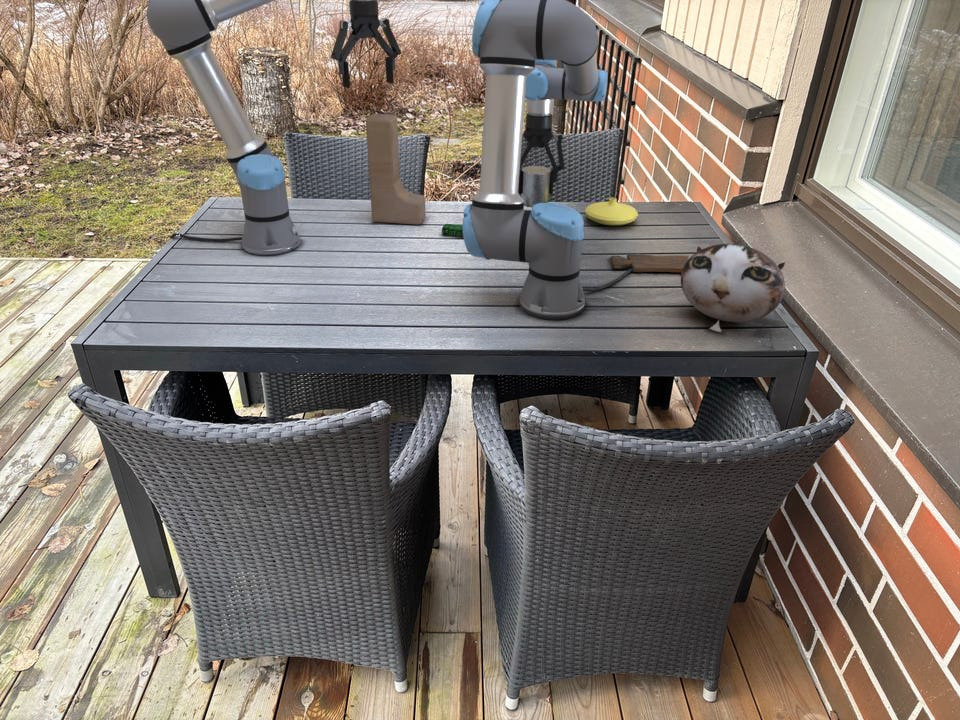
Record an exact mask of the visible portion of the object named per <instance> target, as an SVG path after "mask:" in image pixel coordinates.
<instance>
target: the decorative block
mask: <svg viewBox="0 0 960 720" xmlns="http://www.w3.org/2000/svg"><path fill="white" fill-rule="evenodd" d="M397 116H398V115H396V114H390V113H389V114H387V113H372V114H371V115H369V116H368V117H367V118H366V119H365V131H366V134H365V135H366V147H367V161H368V163H367V164H368V177H369V193H370V209H371V221H372V222H374V223H387V224H404V225H417V226H418V225H422V223H423V221H424V220H425V218H426V197H425V195H423V194H418V193H414V192H410V191H409V190H407V189H406V188H405V186H404V184H403V182H402V180H401V175H400V151H399V127H398V126H399V125H398V117H397Z"/></svg>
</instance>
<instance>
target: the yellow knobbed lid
mask: <svg viewBox="0 0 960 720" xmlns="http://www.w3.org/2000/svg"><path fill="white" fill-rule="evenodd" d="M584 211H585V216H586V217H587V218H588V219H590V220H592V221H593V222H595V223H597V224H600V225H603V226H610V227H611V226H612V227H615V226H624V225H627V224H631V223H633V222H634V221H636V220H637V218H638V217H639V213H638V211H637V210H636V208H635V207H634V206H632V205H629V204H626V203H623V202H617V198H616V197H609V198H608V201H599V202H598V201H597V202H594V203H591V204H589V205H588V206H587V207H586V208H585V210H584Z"/></svg>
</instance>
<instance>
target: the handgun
mask: <svg viewBox="0 0 960 720" xmlns="http://www.w3.org/2000/svg"><path fill="white" fill-rule="evenodd" d="M441 235H446V236H454V237H462V238H464V237H463V225H459V224H453V223H445V224H443V226H442V227H441Z"/></svg>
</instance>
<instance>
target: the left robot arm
mask: <svg viewBox="0 0 960 720" xmlns="http://www.w3.org/2000/svg"><path fill="white" fill-rule="evenodd" d="M274 1H275V0H148V3H147V8H146V21H147V23H148V26H149V28H150V30H151V32H152V33H153V34H154V36H156V38H158V39H159V40H160V43H161V44H162V46H163V48H164V49H165V51H166V53H167V54H168V56H169V57H170V58H171V59H174V60H177V61H178V62H179V64H180V65H181V67H182V70H183V71H184V73H185V74H186V76H187V78H188V80H189V82H190V84H191V85H192V87H193V89H194V91H195V93H196V94H197V97H198V98H199V100H200V102H201V104H202V105H203V107H204V109H205V111H206V113H207V114H208V116H209V118H210V120H211V122H212V124H213V125H214V128H215V129H216V130H217V132H218V134H219V136H220V138H221V140H222V142H223V143H224V146H225V147H226V151H225V154H224V157H225V159H226V161H227V162H228V164H229V166H230V168H231V169H232V171H233V173H234V175H235V177H236V178H237V181H238V185H239V190H240V196H241V201H242V208H243V212H244V213H243V215H244V219H245V220H244V226H243V228H244V229H243V235H242V236H236V237H229V238H228V237H227V238H212V237H210V238H209V237H198V236H191V235H186V234H182V233H179V232H178V234H177V233H173V234H171V235H170V236H169V240H172V239H174V238H175V237H177V236H176V235H179V234H180V236H178V237H180V238H183V239H187V240H193V241H201V242H216V243H217V242H222V243H223V242H233V241H234V242H235V241H241V246H242V249H243V251H244V252H246V253H248V254H252V255H255V256H256V255H257V256H275V255H281V254H282V255H283V254H285V253H289V252H291V251H293V250H296V249H297V248H298V247H299V246H300V244H301V241H300V235H299V233H298V231H297V230H298V229H297V226H296V225H295V224H294V223H293V220H292V218H291V216H290V207H289V200H288V192H287V183H286V178H285V177H286V171H285V168H284V164H283V162H282V161H281V159H280V158H278V157H277V156H275V155H274V154H273V152H272V150H271V149H270V147H269V145H268V143H267V141H266V139H265V138H264V137H262V136H260V135H257V134H256V132H255V130H254V128H253V126H252V124H251V122H250V121H249V118H248V116H247V115H246V113H245V110H244V109H243V107H242V105H241V103H240V101H239V99H238V97H237V96H236V93H235V92H234V90H233V87H232V86H231V84H230V82H229V79H228V77H227V76H226V74H225V72H224V71H223V68H222V66H221V64H220V62H219V61H218V58H217V57H216V55H215V53H214V51H213V49H212V47H211V46H212V41H213V36H212V34H211V32H213V31H216V30H218V27H219V24H221V23H222V22H225V21H228V20H230V19H233V18H235V17H237V16H240V15H242V14H245V13H247V12H250V11H252V10H254V9H257V8H259V7H262V6H265V5H266V4H269V3H272V2H274ZM348 6H349V16H350V20H349V21H347V20H342V19H341V20H340V21H339V30H338V33H337V36H336V39H335V42H334V45H333V48H332V51H331V54H330V58H331V59H332V60H335V61H337V62H338V63H337V64H338V73H339V75H341V77H342V79H341V80H342V87H343V88H346V89H350V88H351V81H350V80H351V79H350V66H349V61H347V59H348V58H349V55H350V54H351V52H352V51H353V49H354V47H355V45H356V44H357V42H359V41H360V39H362V40H364V39H367V38H368V39H374V40H375V41H376V43H377V44H378V45H379V47H380V48H381V49H382V50H383V52H384V53H385V54H386V55H387V56H385V59H384V61H385V78H386V83H388V84H394V71H395V70H396V59H397V57H398V56H401V54H402V51H401V48H400V46H399V44H398V42H397V39H396V37H395V35H394V32H393V30H392V29H391V24H390V19H389V18H386V17H385V18H384V17H382V18H381V19H379V1H378V0H349V2H348ZM379 27H380V28H381V29H382V31H383V33H384V35H385V38H386V40H387V41H386V40H385V38H384V37H383V35H382V33H381V32H380V31H379ZM350 28H351V32H350V34H349V35H348V31H349V30H350ZM347 36H349V37H348V39H347ZM346 39H347V41H346Z"/></svg>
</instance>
